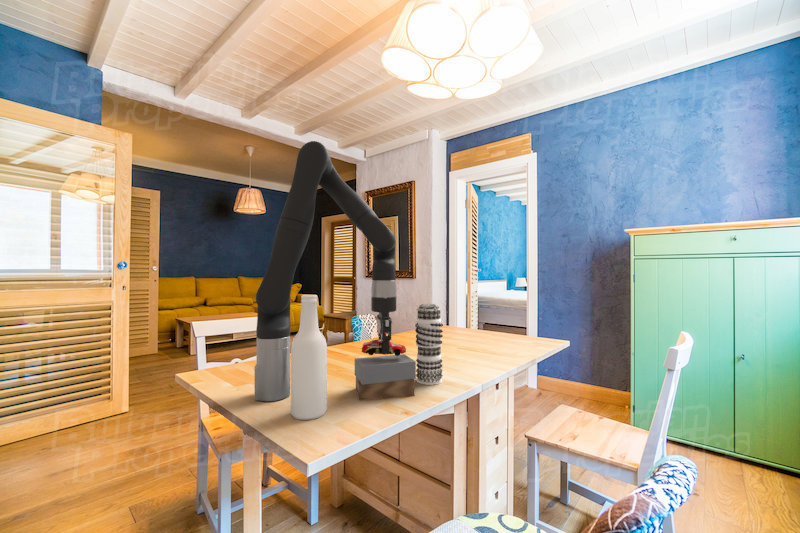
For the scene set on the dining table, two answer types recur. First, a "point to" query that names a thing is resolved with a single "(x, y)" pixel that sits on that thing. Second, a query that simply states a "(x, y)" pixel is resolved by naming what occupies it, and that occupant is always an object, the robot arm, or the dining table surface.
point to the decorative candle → (429, 345)
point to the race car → (376, 348)
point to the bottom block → (385, 389)
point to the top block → (384, 369)
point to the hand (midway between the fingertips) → (383, 351)
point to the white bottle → (308, 365)
